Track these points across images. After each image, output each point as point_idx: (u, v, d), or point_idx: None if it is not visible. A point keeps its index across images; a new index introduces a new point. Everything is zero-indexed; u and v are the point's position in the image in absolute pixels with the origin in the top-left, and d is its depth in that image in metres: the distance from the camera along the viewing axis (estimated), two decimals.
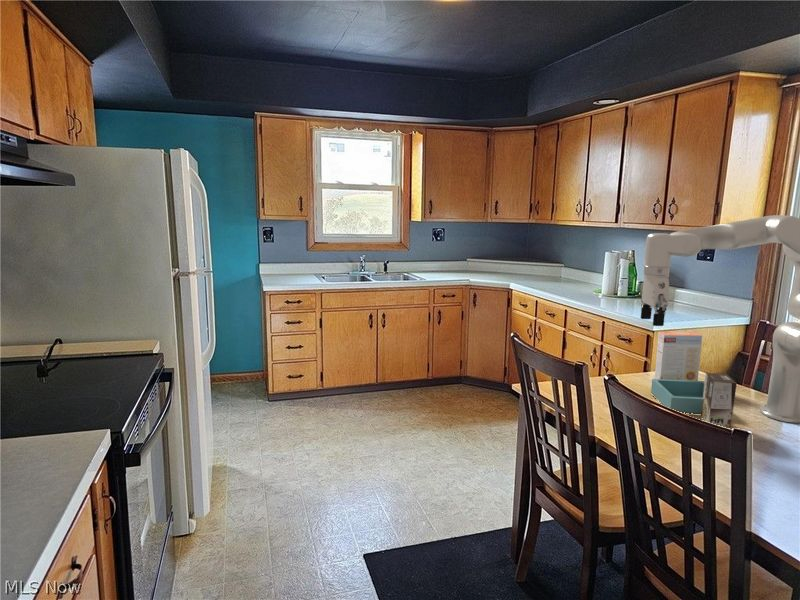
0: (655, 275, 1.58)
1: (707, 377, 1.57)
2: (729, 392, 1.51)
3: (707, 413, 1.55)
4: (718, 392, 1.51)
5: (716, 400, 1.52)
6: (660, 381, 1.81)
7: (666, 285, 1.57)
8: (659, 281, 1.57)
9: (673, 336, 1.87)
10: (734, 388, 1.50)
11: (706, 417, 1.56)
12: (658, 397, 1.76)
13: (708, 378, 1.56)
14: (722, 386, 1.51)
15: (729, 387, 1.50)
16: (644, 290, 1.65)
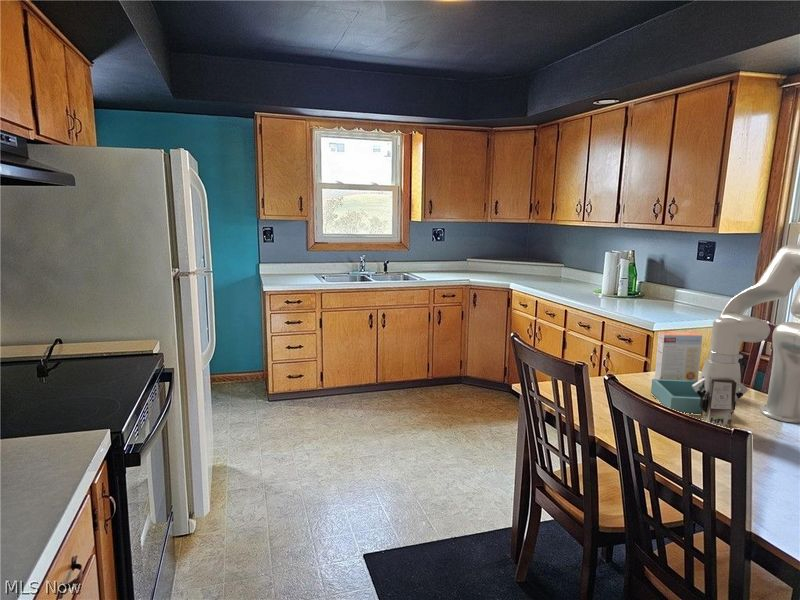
0: (737, 362, 1.51)
1: None
2: (729, 392, 1.51)
3: (707, 413, 1.55)
4: (718, 392, 1.51)
5: (716, 400, 1.52)
6: (660, 381, 1.81)
7: None
8: None
9: (673, 336, 1.87)
10: (734, 388, 1.50)
11: (706, 417, 1.56)
12: (658, 397, 1.76)
13: None
14: (722, 386, 1.51)
15: (729, 387, 1.50)
16: None
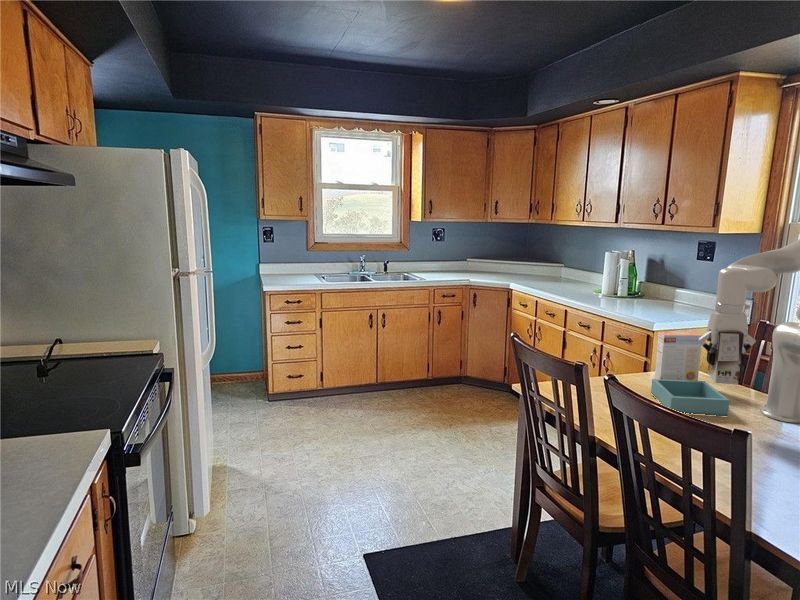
0: (744, 312, 1.48)
1: None
2: (736, 343, 1.48)
3: (714, 366, 1.53)
4: (725, 344, 1.49)
5: (723, 352, 1.49)
6: (660, 381, 1.81)
7: None
8: None
9: (673, 336, 1.87)
10: (741, 339, 1.47)
11: (713, 371, 1.53)
12: (658, 397, 1.76)
13: None
14: (729, 337, 1.48)
15: (736, 338, 1.47)
16: (724, 331, 1.50)
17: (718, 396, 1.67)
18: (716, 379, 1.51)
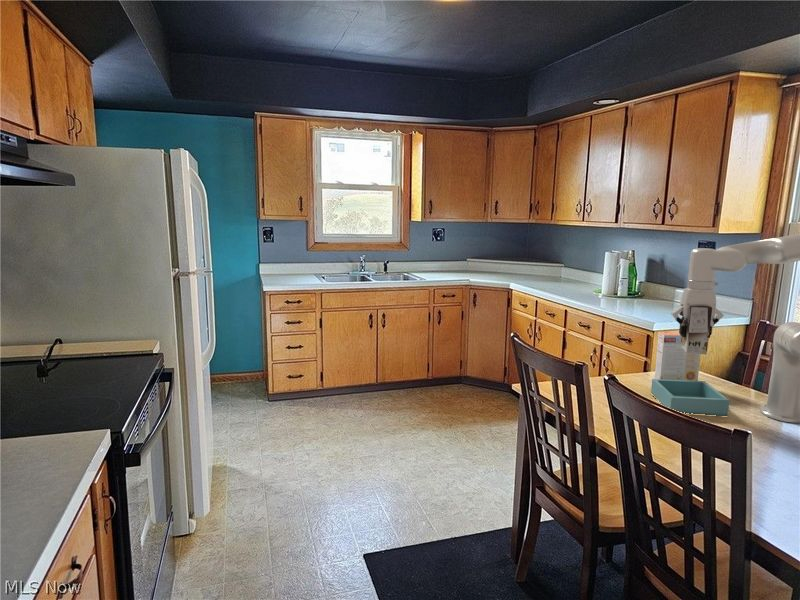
0: None
1: None
2: (705, 316, 1.63)
3: (686, 338, 1.67)
4: (695, 317, 1.63)
5: (694, 324, 1.64)
6: (660, 381, 1.81)
7: None
8: None
9: (673, 336, 1.87)
10: (710, 312, 1.62)
11: (685, 342, 1.68)
12: (658, 397, 1.76)
13: None
14: (699, 311, 1.63)
15: (705, 311, 1.62)
16: None
17: (718, 396, 1.67)
18: (687, 349, 1.66)
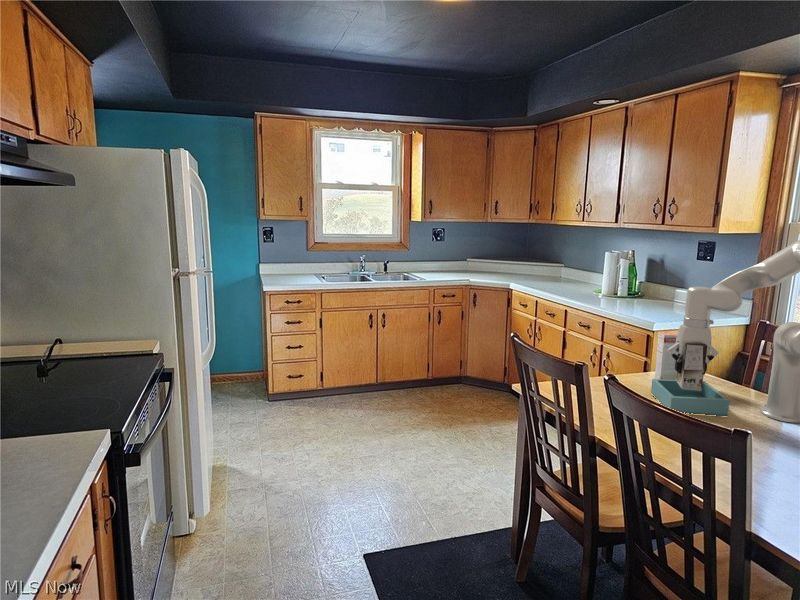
0: (708, 327, 1.66)
1: None
2: (700, 354, 1.65)
3: (681, 374, 1.70)
4: (691, 354, 1.66)
5: (689, 362, 1.67)
6: (660, 381, 1.81)
7: None
8: None
9: (673, 336, 1.87)
10: (705, 350, 1.64)
11: (680, 378, 1.71)
12: (658, 397, 1.76)
13: None
14: (694, 348, 1.65)
15: (701, 349, 1.65)
16: (690, 343, 1.67)
17: (718, 396, 1.67)
18: (682, 386, 1.69)
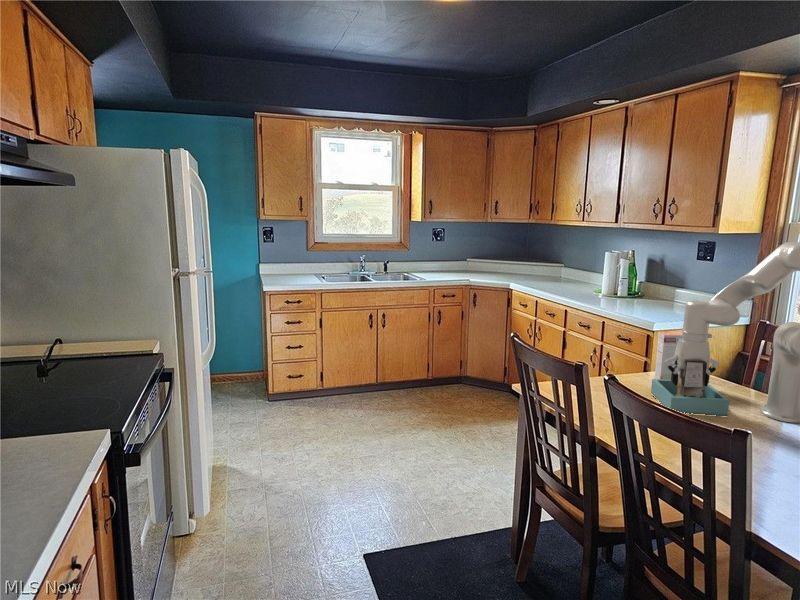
0: (706, 341, 1.67)
1: None
2: (700, 371, 1.66)
3: (681, 391, 1.71)
4: (691, 371, 1.67)
5: (689, 379, 1.67)
6: (660, 381, 1.81)
7: None
8: None
9: (673, 336, 1.87)
10: (705, 368, 1.66)
11: (680, 395, 1.72)
12: (658, 397, 1.76)
13: None
14: (694, 366, 1.66)
15: (700, 367, 1.66)
16: (688, 357, 1.68)
17: (718, 396, 1.67)
18: None
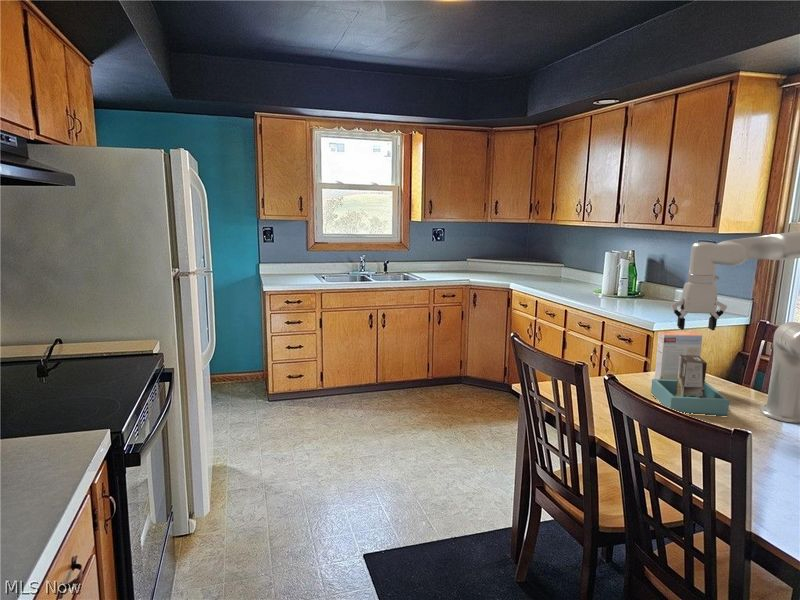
0: None
1: (681, 359, 1.73)
2: (700, 371, 1.66)
3: (681, 391, 1.71)
4: (690, 372, 1.67)
5: (689, 379, 1.67)
6: (660, 381, 1.81)
7: None
8: None
9: (673, 336, 1.87)
10: (705, 368, 1.66)
11: (680, 395, 1.72)
12: (658, 397, 1.76)
13: (682, 359, 1.72)
14: (694, 366, 1.66)
15: (700, 367, 1.66)
16: (695, 300, 1.64)
17: (718, 396, 1.67)
18: None
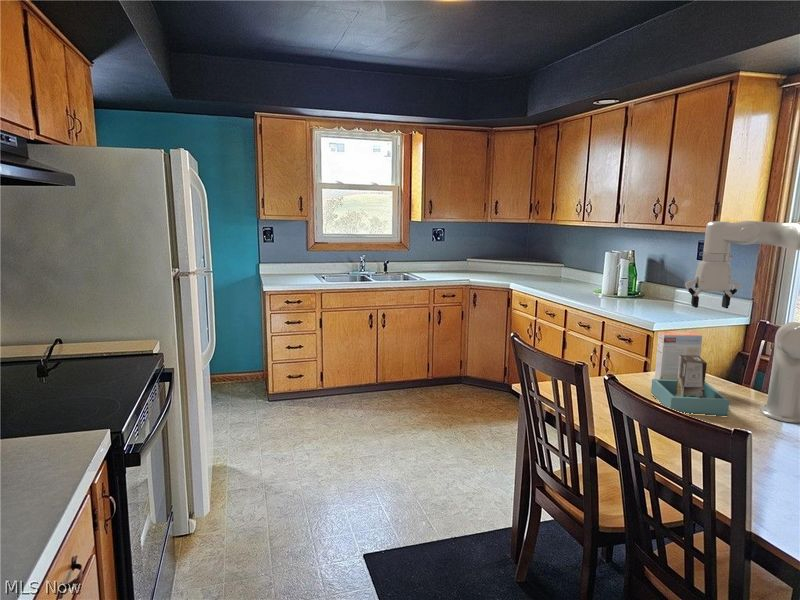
0: None
1: (681, 359, 1.73)
2: (700, 371, 1.66)
3: (681, 391, 1.71)
4: (690, 372, 1.67)
5: (689, 379, 1.67)
6: (660, 381, 1.81)
7: None
8: None
9: (673, 336, 1.87)
10: (705, 368, 1.66)
11: (680, 395, 1.72)
12: (658, 397, 1.76)
13: (682, 359, 1.72)
14: (694, 366, 1.66)
15: (700, 367, 1.66)
16: (709, 278, 1.67)
17: (718, 396, 1.67)
18: None
